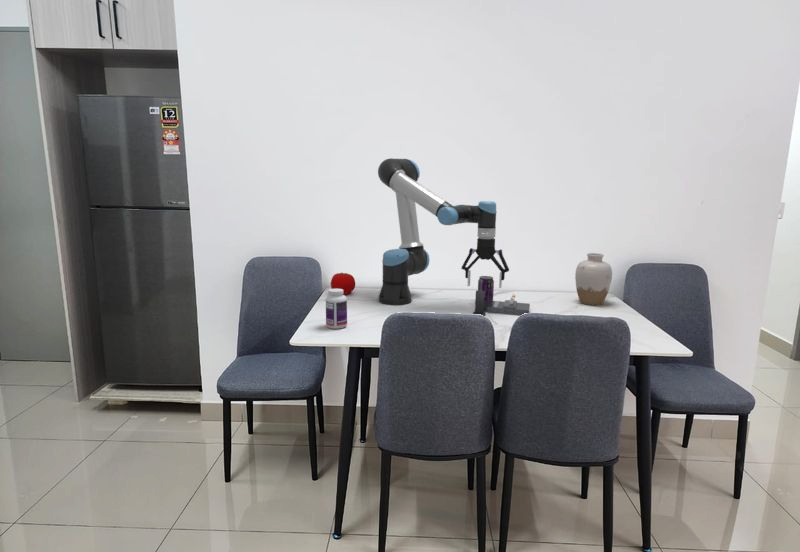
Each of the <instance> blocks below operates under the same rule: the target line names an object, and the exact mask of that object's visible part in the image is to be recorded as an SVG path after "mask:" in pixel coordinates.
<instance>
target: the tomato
mask: <svg viewBox="0 0 800 552" xmlns="http://www.w3.org/2000/svg"><path fill="white" fill-rule="evenodd" d="M355 288H356V279H355V277H354V276H353V275H352V274H350V273H346V272H340V273H339V272H337V273H335V274H333V275H332V277H331V279H330V289H343V295H344V296H346V295H350V294H351V293H352V292H353V291H354V290H355Z"/></svg>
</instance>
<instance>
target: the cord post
mask: <svg viewBox="0 0 800 552" xmlns="http://www.w3.org/2000/svg"><path fill="white" fill-rule="evenodd" d="M484 293H485V291H481V290H478V289H477V290H475V300H474V301H475V302H474V304H475V306H474V311H473V312H472V315H473V314H481V315H484V316H486V313H485V312H484ZM484 316H483V317H484Z"/></svg>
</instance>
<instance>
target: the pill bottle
mask: <svg viewBox="0 0 800 552" xmlns="http://www.w3.org/2000/svg"><path fill="white" fill-rule="evenodd" d="M347 325H348V299H347V296H346V295H343V289H332V288H330V289H328V295H327V296H326V297H325V326H326V327H327V328H329V329H331V330H332V329H333V330H335V329H336V330H339V329H345V328H346V327H347Z"/></svg>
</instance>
